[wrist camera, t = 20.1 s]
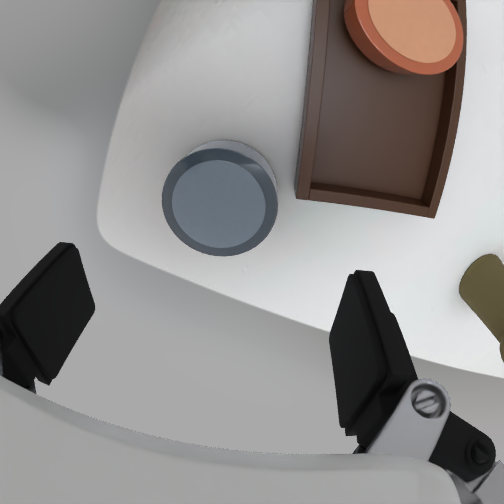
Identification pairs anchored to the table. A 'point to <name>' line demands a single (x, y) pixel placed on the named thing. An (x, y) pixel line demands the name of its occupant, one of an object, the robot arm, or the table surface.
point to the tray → (374, 124)
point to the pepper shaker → (486, 293)
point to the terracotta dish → (406, 34)
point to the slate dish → (221, 198)
